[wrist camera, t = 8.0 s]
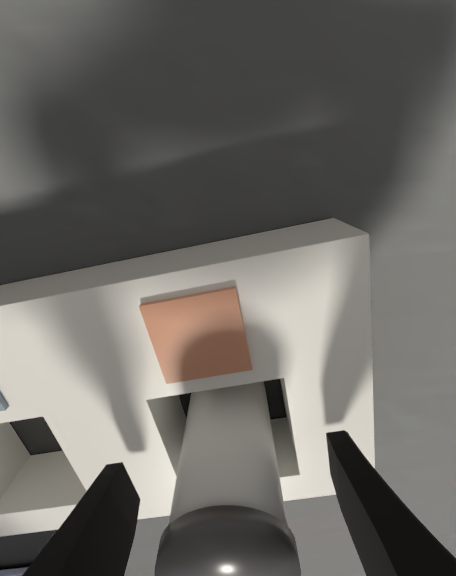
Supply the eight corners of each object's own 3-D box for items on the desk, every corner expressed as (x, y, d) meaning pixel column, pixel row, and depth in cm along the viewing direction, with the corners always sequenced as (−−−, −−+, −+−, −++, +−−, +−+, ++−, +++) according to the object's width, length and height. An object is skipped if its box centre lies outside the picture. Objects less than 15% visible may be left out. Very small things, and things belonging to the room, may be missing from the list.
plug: (272, 412, 15) (307, 607, 8) (199, 423, 15) (175, 618, 8) (261, 350, 13) (292, 524, 7) (180, 363, 13) (135, 541, 7)
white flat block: (348, 430, 15) (377, 494, 12) (-7, 480, 17) (-58, 548, 14) (333, 217, 11) (372, 235, 8) (-133, 311, 13) (-245, 355, 10)
